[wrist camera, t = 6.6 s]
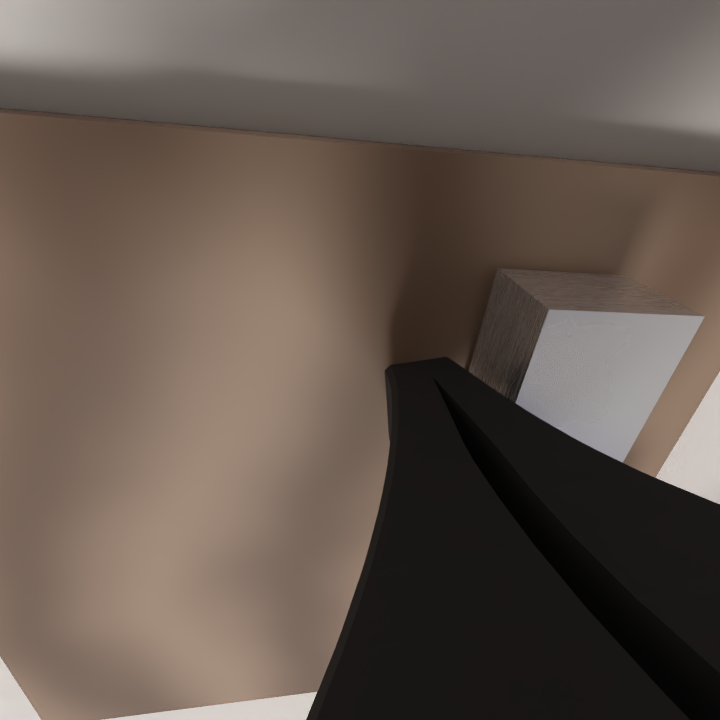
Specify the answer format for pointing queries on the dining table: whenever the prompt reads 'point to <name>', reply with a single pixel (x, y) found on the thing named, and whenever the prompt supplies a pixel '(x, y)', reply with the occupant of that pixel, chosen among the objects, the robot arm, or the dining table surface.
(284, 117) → the dining table surface
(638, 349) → the link
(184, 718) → the dining table surface
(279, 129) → the dining table surface
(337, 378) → the base plate
